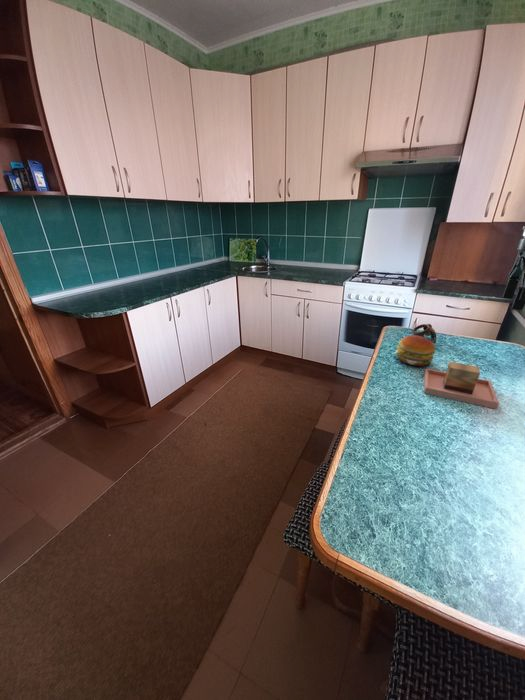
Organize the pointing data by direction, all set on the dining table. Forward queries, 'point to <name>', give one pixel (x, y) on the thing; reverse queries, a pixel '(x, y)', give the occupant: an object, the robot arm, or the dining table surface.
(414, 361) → the burger
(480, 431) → the dining table surface
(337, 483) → the dining table surface
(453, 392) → the tray
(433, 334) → the pottery mug
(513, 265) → the robot arm
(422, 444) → the dining table surface
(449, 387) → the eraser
